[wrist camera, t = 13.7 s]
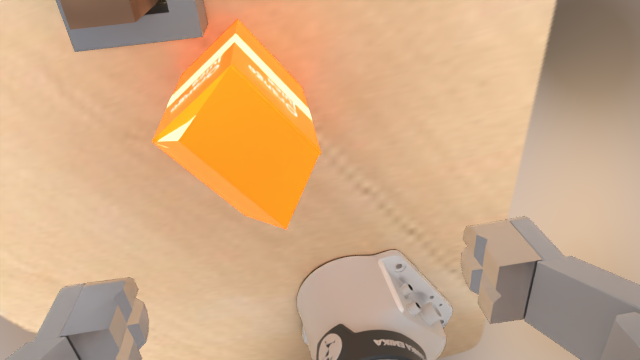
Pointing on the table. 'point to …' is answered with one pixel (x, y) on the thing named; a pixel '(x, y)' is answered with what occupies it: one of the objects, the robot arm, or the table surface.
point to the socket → (144, 27)
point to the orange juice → (242, 127)
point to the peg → (104, 12)
